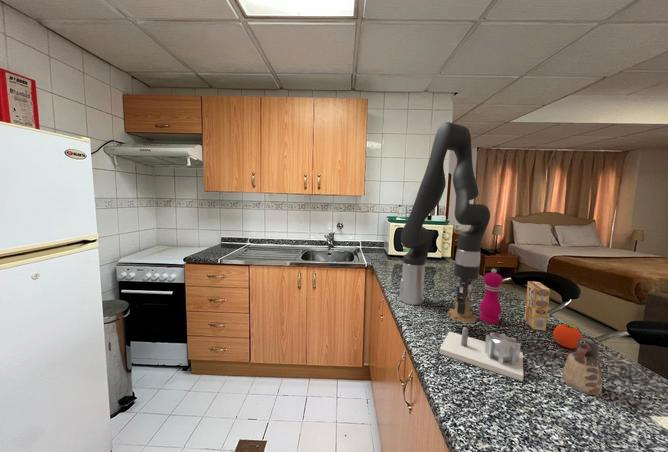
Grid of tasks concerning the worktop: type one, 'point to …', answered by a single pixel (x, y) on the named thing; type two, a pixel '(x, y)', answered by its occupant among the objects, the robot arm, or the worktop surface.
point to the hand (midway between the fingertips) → (462, 310)
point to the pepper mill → (491, 298)
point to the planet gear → (465, 317)
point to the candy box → (537, 305)
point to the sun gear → (502, 348)
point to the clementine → (567, 335)
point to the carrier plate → (478, 354)
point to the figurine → (584, 368)
